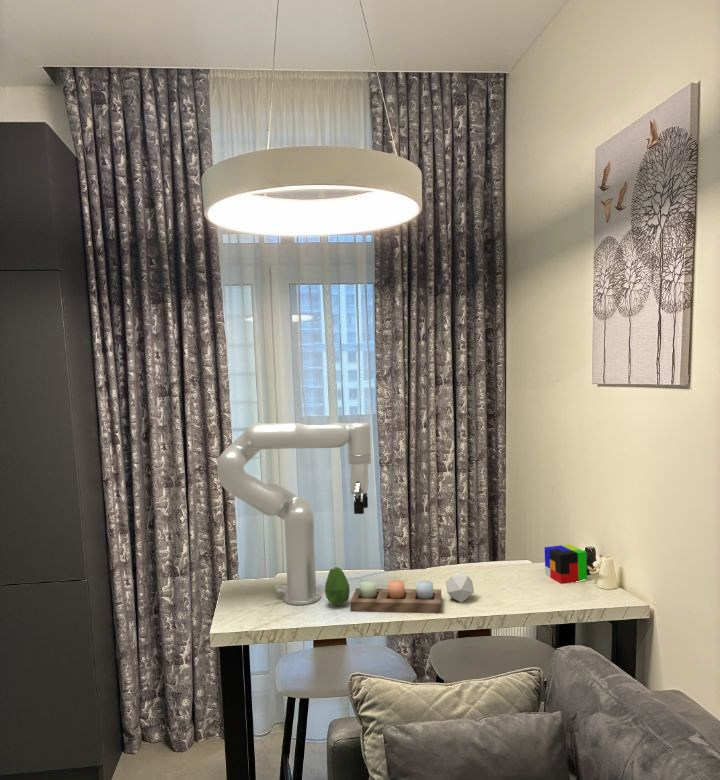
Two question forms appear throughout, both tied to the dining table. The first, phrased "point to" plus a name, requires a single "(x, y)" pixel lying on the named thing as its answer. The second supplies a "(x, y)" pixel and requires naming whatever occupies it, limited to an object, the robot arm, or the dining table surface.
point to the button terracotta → (396, 589)
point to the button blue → (424, 589)
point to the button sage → (368, 589)
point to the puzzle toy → (565, 563)
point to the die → (459, 586)
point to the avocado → (337, 587)
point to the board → (396, 602)
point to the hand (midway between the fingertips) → (361, 510)
